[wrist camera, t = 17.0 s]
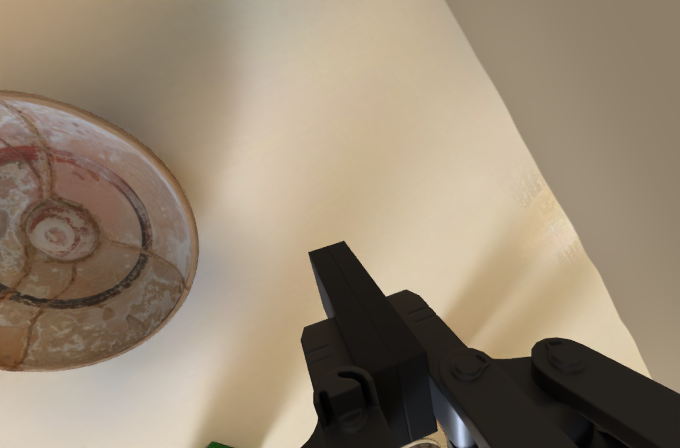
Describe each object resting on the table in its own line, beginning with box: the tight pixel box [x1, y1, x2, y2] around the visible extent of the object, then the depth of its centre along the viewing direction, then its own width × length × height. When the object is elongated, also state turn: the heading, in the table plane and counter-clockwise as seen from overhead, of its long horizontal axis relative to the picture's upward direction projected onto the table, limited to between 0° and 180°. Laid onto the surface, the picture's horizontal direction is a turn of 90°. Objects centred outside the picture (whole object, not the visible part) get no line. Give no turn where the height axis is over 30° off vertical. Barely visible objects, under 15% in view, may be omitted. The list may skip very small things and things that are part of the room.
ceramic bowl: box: [0, 90, 199, 372], centre depth 28 cm, size 23×24×5 cm
